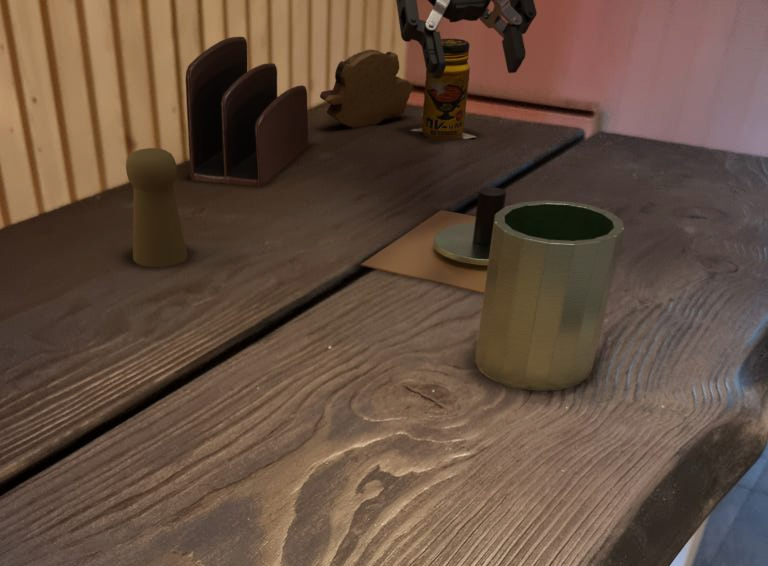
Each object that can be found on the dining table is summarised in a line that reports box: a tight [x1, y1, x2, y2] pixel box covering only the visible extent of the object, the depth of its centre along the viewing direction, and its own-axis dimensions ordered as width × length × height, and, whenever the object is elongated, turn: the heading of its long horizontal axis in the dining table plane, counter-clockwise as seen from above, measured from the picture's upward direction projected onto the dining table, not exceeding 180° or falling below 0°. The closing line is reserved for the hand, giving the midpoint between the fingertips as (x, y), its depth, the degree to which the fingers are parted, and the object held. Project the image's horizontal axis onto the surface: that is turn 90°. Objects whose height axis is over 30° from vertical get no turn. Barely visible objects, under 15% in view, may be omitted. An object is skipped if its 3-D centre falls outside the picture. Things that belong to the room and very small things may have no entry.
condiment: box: [411, 37, 477, 140], centre depth 132 cm, size 7×8×12 cm
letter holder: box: [185, 36, 309, 188], centre depth 122 cm, size 10×20×14 cm, turn 161°
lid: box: [434, 186, 507, 265], centre depth 98 cm, size 11×11×6 cm
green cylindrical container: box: [474, 200, 625, 392], centre depth 78 cm, size 10×10×12 cm
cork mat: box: [360, 209, 488, 294], centre depth 101 cm, size 20×20×1 cm
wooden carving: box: [319, 49, 414, 129], centre depth 137 cm, size 16×5×10 cm, turn 130°
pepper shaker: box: [125, 147, 188, 268], centre depth 97 cm, size 6×6×11 cm
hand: (478, 70), depth 96 cm, fingers open, 8 cm apart
